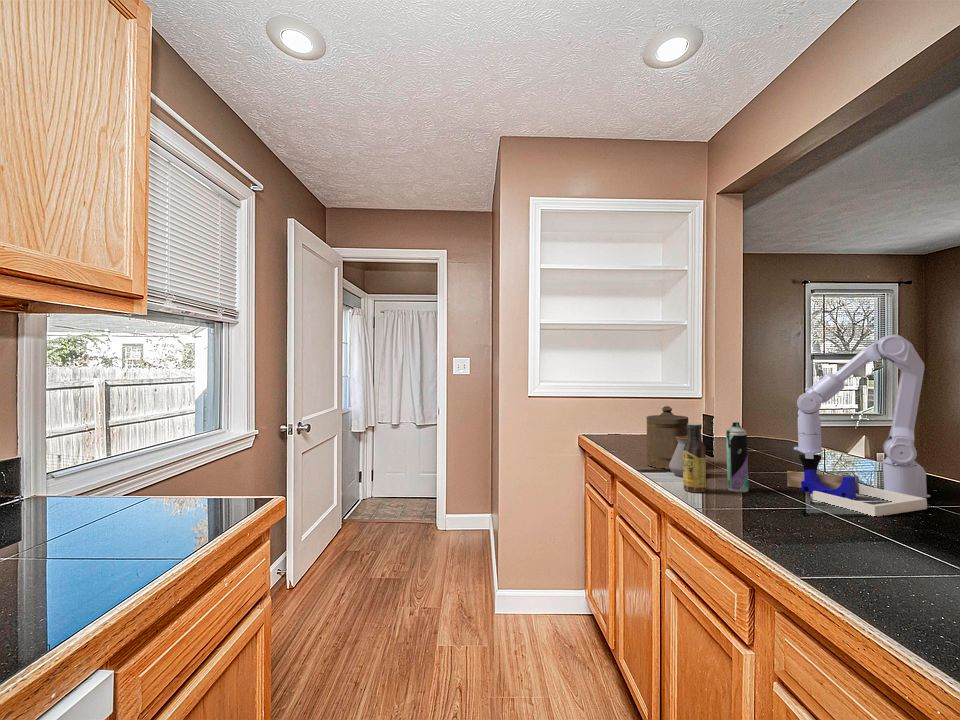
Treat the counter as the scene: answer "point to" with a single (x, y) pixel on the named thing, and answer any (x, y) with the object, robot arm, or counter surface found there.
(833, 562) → the counter surface
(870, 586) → the counter surface
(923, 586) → the counter surface
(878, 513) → the cream square rimmed piece
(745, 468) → the spray can
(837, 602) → the counter surface
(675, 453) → the coffee pot
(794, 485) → the board
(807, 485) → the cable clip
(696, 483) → the sauce bottle
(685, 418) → the wooden container
